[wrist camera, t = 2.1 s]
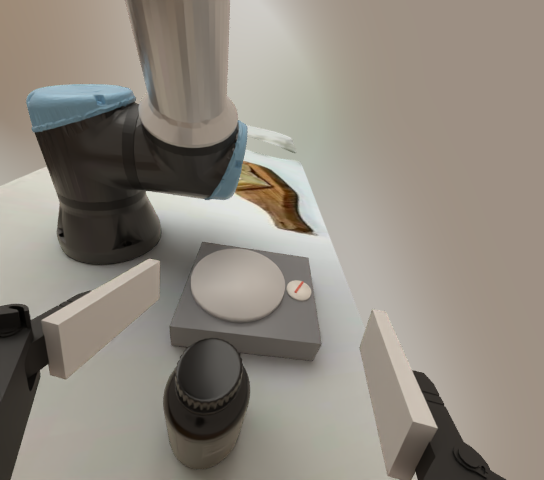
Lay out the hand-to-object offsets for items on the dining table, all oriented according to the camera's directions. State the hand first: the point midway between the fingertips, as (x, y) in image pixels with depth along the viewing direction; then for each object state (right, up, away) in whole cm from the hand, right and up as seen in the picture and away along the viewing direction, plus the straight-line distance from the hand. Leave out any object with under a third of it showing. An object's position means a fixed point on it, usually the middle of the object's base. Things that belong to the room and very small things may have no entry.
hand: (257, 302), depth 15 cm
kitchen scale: (-3, -6, +23) cm, 24 cm away
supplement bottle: (-6, -15, +10) cm, 19 cm away
